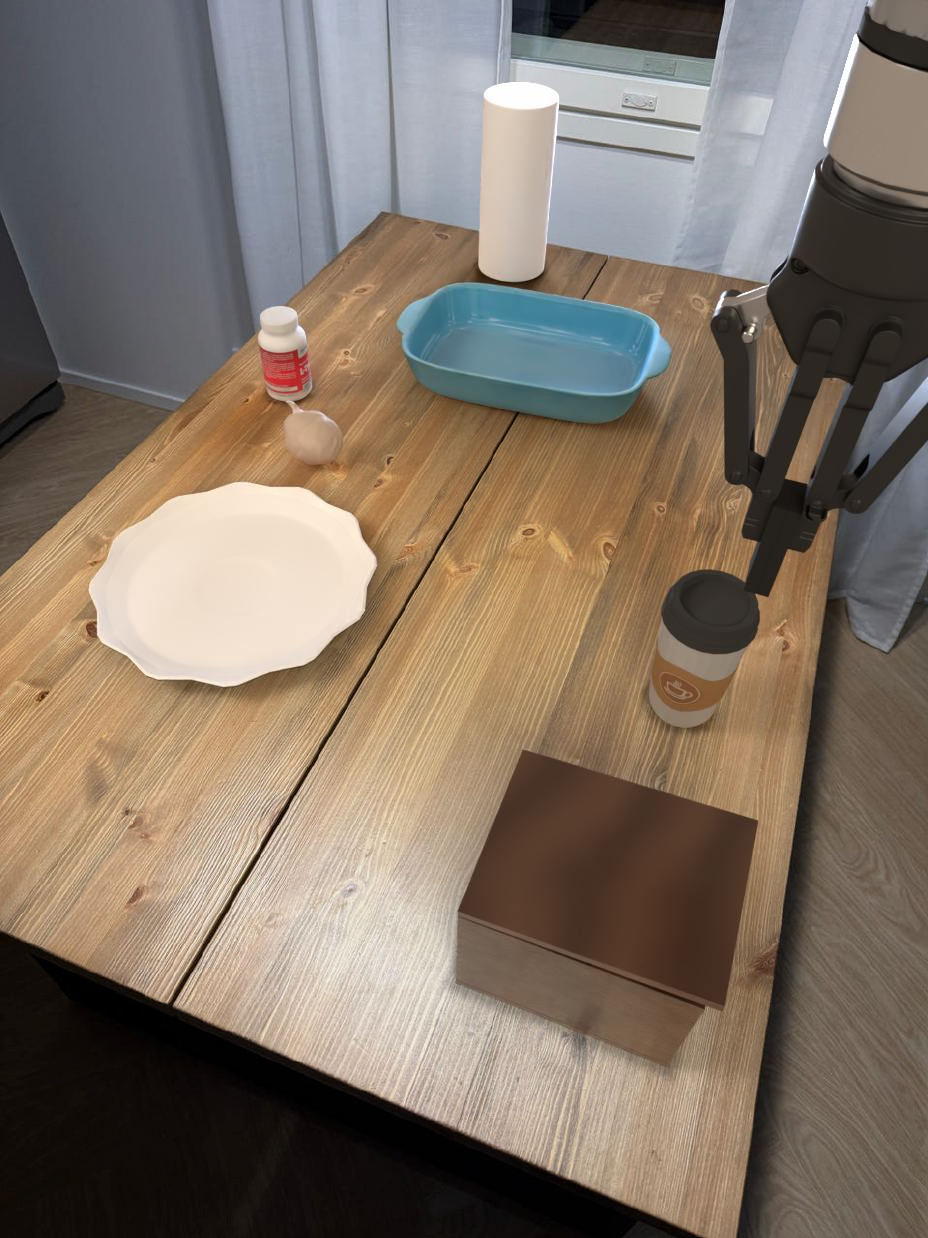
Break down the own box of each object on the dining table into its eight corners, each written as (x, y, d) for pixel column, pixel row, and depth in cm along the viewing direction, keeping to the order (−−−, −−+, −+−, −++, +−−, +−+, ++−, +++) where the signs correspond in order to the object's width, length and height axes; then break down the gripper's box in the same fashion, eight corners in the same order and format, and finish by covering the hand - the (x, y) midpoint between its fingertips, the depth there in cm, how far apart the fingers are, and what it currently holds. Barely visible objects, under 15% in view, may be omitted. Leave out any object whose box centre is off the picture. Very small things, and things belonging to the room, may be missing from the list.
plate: (39, 605, 94) (31, 590, 92) (243, 465, 110) (240, 450, 108) (232, 749, 83) (227, 735, 81) (429, 571, 98) (429, 555, 96)
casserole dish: (374, 397, 119) (370, 350, 114) (429, 315, 134) (428, 269, 128) (646, 453, 112) (656, 406, 107) (673, 360, 127) (684, 314, 121)
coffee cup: (622, 711, 86) (648, 608, 75) (661, 656, 91) (691, 551, 79) (701, 753, 83) (741, 652, 72) (737, 694, 88) (780, 591, 76)
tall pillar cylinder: (549, 254, 147) (564, 85, 128) (537, 285, 140) (552, 112, 121) (486, 245, 148) (492, 78, 129) (471, 276, 141) (475, 104, 122)
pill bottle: (312, 402, 119) (301, 327, 110) (265, 404, 118) (251, 328, 110) (313, 375, 123) (303, 301, 114) (268, 377, 122) (255, 302, 114)
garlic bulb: (327, 437, 114) (321, 383, 108) (352, 463, 110) (346, 409, 104) (281, 454, 111) (271, 401, 105) (304, 482, 108) (296, 428, 102)
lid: (756, 825, 63) (758, 820, 63) (722, 1011, 55) (724, 1007, 54) (522, 754, 68) (522, 748, 67) (457, 916, 59) (457, 911, 59)
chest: (702, 901, 74) (740, 827, 64) (666, 1067, 65) (704, 1010, 56) (512, 834, 77) (522, 754, 68) (455, 983, 69) (457, 916, 59)
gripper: (1087, 159, 36) (876, 565, 54) (764, 111, 39) (665, 511, 57) (1103, 239, 32) (867, 655, 49) (736, 177, 35) (637, 591, 52)
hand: (759, 578), depth 53 cm, fingers closed
